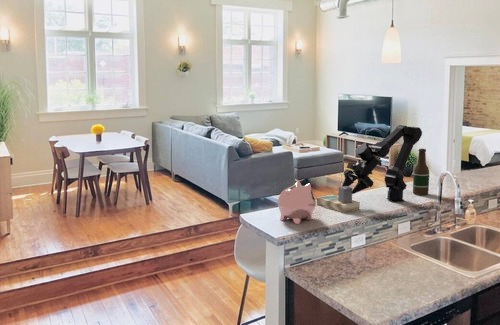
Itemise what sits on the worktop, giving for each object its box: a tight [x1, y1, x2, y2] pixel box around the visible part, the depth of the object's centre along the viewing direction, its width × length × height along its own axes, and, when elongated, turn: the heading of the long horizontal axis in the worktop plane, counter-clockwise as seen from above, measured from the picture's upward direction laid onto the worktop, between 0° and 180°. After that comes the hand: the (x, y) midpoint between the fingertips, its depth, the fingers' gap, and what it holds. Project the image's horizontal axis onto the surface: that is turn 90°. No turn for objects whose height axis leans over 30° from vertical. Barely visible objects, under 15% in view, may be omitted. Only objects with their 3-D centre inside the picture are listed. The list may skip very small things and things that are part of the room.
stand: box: [316, 194, 361, 214], centre depth 229 cm, size 19×10×4 cm, turn 33°
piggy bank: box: [277, 181, 317, 225], centre depth 210 cm, size 15×18×16 cm
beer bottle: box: [412, 148, 430, 197], centre depth 248 cm, size 8×8×24 cm
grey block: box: [338, 186, 353, 204], centre depth 224 cm, size 5×5×7 cm
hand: (346, 191), depth 224 cm, fingers open, 9 cm apart
